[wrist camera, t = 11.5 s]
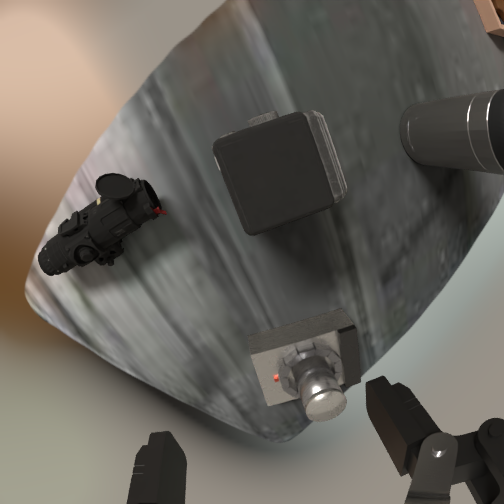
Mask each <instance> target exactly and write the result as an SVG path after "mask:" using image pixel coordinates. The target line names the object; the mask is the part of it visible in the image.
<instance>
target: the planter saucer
mask: <svg viewBox="0 0 504 504" xmlns="http://www.w3.org/2000/svg"><path fill="white" fill-rule="evenodd" d="M473 1H474V3H475V5H476V8H477V10H478V12H479V15H480V17H481V20H482V22H483V25H484V27H485V30H486V33H491V34H494V35H498V36H502V37H504V25H502V24H501V23H500V20H499V18H498V15H497V13H496V10H495V8H494V6H493V4H492V1H491V0H473Z"/></svg>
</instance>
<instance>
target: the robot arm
mask: <svg viewBox="0 0 504 504" xmlns="http://www.w3.org/2000/svg"><path fill="white" fill-rule="evenodd" d="M400 135H401V140H402V144H403V146H404V148H405V150H406V152H407V153H408V155H409V156H410V157H411V158H412V159H413V160H414V161H416V162H417V163H419V164H422V165H428V166H438V167H446V168H455V169H464V170H472V171H479V172H486V173H493V174H501V175H504V89H501V90H494V91H487V92H481V93H474V94H468V95H461V96H456V97H450V98H444V99H439V100H434V101H428V102H423V103H418V104H415V105H412V106H410V107H409V108H408V109H407V110H406V111H405V112H404V114H403V117H402V119H401V123H400ZM366 408H367V412H368V415H369V418H370V420H371V422H372V424H373V425H374V427H375V429H376V431H377V433H378V435H379V437H380V439H381V440H382V442H383V444H384V446H385V448H386V450H387V452H388V453H389V455H390V457H391V459H392V461H393V463H394V465H395V466H396V468H397V470H398V472H399V474H400V476H403V475H406V474H408V473H409V475H410V477H411V478H412V481H411V485H410V488H409V491H408V494H407V497H406V500H405V503H404V504H450V496H449V495H450V489H451V485H453V484H457V483H461V482H465V483H466V484H467V486H468V488H469V490H470V492H471V494H472V496H473V497H474V499H475V501H476V503H477V504H504V420H503V419H500V418H492V419H488V420H487V421H485V422H484V423H483V424H482V425H481V426H480V428H479V430H478V431H475V432H471V433H468V434H464V435H460V436H452V435H451V434H448V433H444V432H442V431H441V430H440V429H439V428H438V426H437V425H436V424H435V422H434V421H433V420H432V418H431V417H430V416H429V414H428V413H427V411H426V410H425V409H424V408H423V406H422V405H421V404H420V402H419V401H418V399H417V398H416V397H415V395H414V394H413V393H412V391H411V390H410V389H409V388H408V387H406V386H404V385H402V384H401V383H396V384H394V385H391V384H390V383H389V382H388V380H387V379H386V377H385V376H381V377H378V378H376V379H373V380H370V381H368V382H366ZM134 465H135V467H134V468H133V475H132V478H131V483H130V489H129V494H128V500H127V504H185V490H186V470H187V461H186V456H185V454H184V451H183V450H182V449H181V447H180V446H179V444H178V443H177V441H176V440H175V439H174V437H173V435H172V434H171V432H169V431H163V432H155V433H151V434H150V437H149V442H148V445H143V446H142V447H141V449H140V450H139V452H138V453H137V455H136V459H135V464H134Z"/></svg>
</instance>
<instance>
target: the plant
mask: <svg viewBox="0 0 504 504" xmlns="http://www.w3.org/2000/svg"><path fill="white" fill-rule="evenodd" d="M491 1H492V4H493V6H494V8H495V10H496V12H497V13H498V15H499V16H500V18H501V19H502V21H504V0H491Z"/></svg>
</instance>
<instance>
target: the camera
mask: <svg viewBox="0 0 504 504" xmlns="http://www.w3.org/2000/svg"><path fill="white" fill-rule="evenodd" d="M248 123H249V125H250V127H249V128H246V129H244V130H241V131H238V132H235V131H233V132H230V133H227V134H225V135H222V136H220V139H217V140H216V141H215V142H214V144H213V146H212V150H213V153H214V155H215V157H214V158H215V160H216V163H217V165H218V168H219V170H220V171H221V173H222V176H223V178H224V181H225V183H226V186H227V188H228V191H229V194H230V196H231V199H232V201H233V204H234V206H235V209H236V211H237V214H238V216H239V219H240V222H241V224H242V227H243V229H244V231H245V232H246V233H247V234H248V235H253V236H255V235H257V234H260V233H263V232H265V231H268V230H271V229H274V228H276V227H279V226H282V225H284V224H287V223H290V222H292V221H295V220H298V219H300V218H303V217H306V216H309V215H311V214H314V213H317V212H320V211H322V210H325V209H328V208H330V207H331V206H332V205H333V203H334V202H335V203H337V202H339V200H341V199H343V198H344V196H345V194H346V193H347V186H346V183H345V179H344V176H343V173H342V170H341V167H340V164H339V161H338V157H337V154H336V151H335V148H334V146H333V143H332V140H331V137H330V134H329V131H328V127H327V124H326V121H325V120H324V117H323V116H322V115H321V114H320V113H319V112H316V111H313V110H311V111H307V112H304V113H301V112H294V113H291V114H288V115H285V116H282V117H279V116H278V114H277V111H273V112H268V113H265V114H262V115H259V116H257V117H254V118H252V119H250V120H249V121H248Z"/></svg>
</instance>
